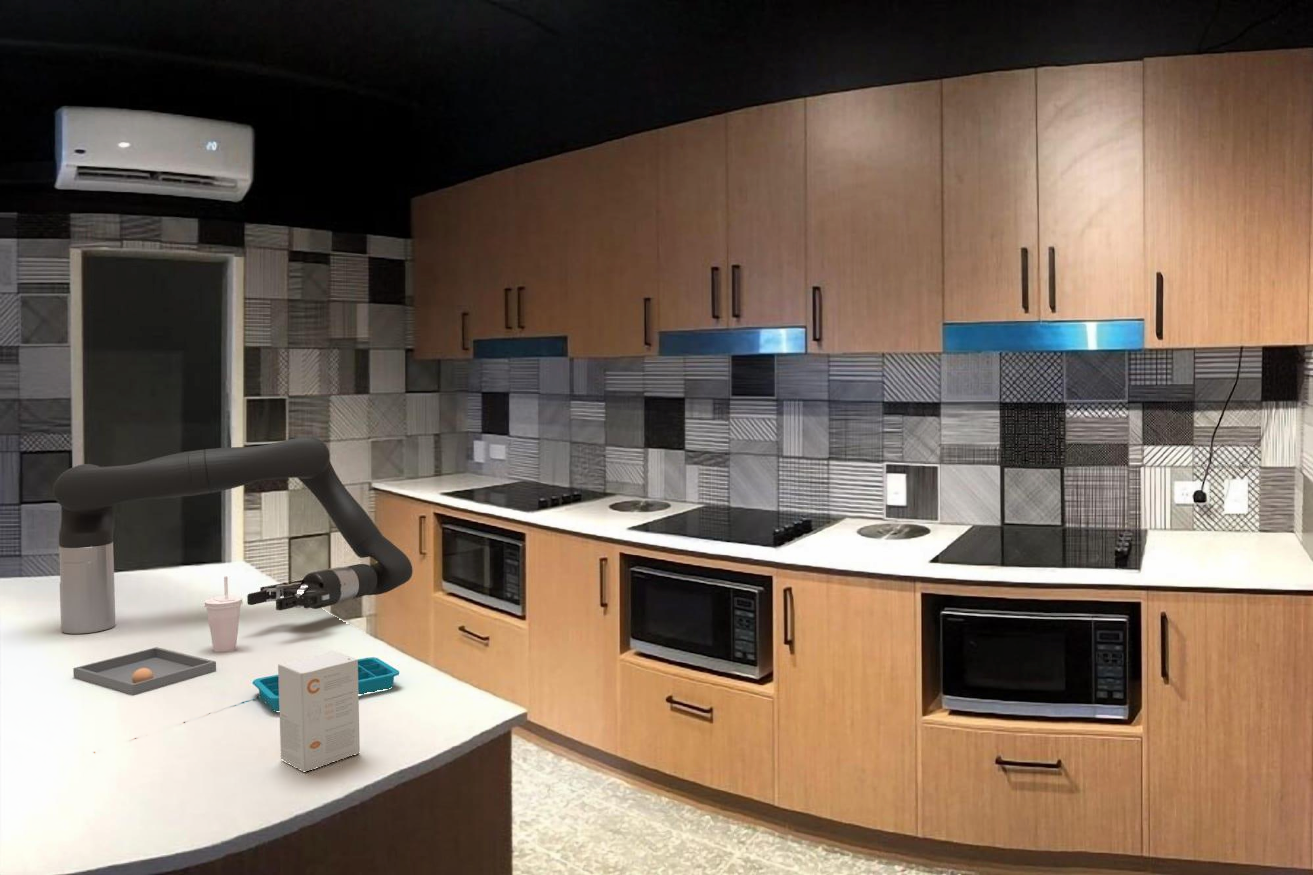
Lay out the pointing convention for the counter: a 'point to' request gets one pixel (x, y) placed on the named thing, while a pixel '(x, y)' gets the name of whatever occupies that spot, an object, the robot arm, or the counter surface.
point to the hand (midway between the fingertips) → (262, 602)
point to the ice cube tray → (369, 680)
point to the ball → (142, 675)
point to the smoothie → (224, 620)
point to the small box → (318, 709)
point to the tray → (160, 661)
